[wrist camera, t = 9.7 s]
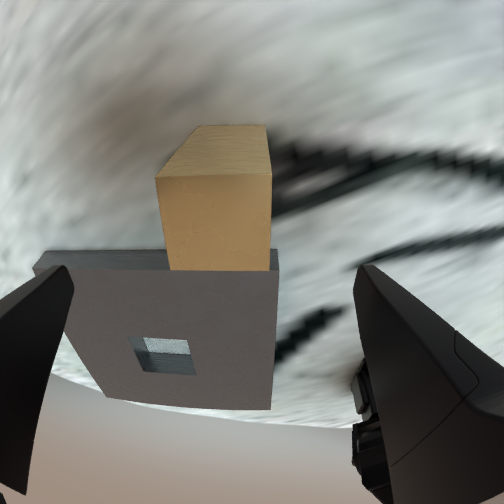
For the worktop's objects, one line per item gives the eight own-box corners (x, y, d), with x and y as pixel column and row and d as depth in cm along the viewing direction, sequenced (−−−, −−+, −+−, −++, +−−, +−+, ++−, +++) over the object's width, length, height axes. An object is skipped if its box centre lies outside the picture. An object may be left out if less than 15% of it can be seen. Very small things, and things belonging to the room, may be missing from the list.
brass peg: (264, 124, 18) (271, 174, 10) (264, 185, 20) (269, 270, 12) (198, 126, 18) (155, 177, 10) (202, 185, 20) (170, 269, 12)
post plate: (277, 249, 22) (279, 270, 20) (270, 391, 34) (270, 410, 32) (45, 251, 23) (31, 267, 21) (111, 381, 34) (106, 397, 32)
